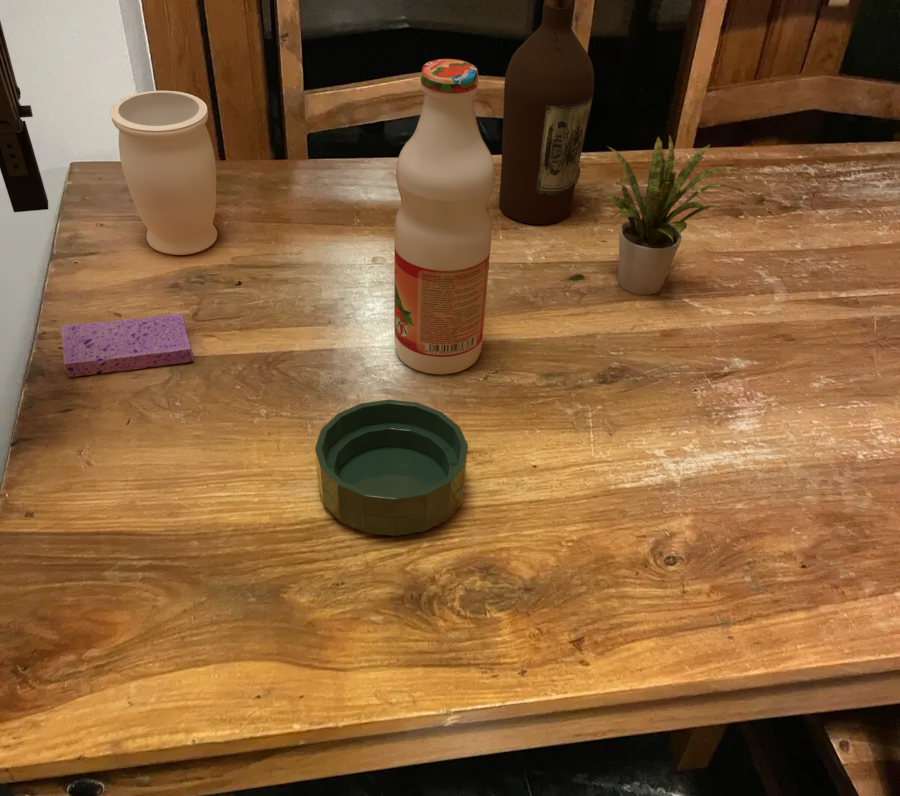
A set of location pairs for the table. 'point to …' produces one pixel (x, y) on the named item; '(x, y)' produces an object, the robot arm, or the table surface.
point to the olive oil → (545, 120)
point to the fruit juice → (443, 226)
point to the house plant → (655, 219)
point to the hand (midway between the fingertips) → (31, 206)
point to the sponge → (125, 344)
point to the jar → (169, 168)
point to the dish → (391, 467)
